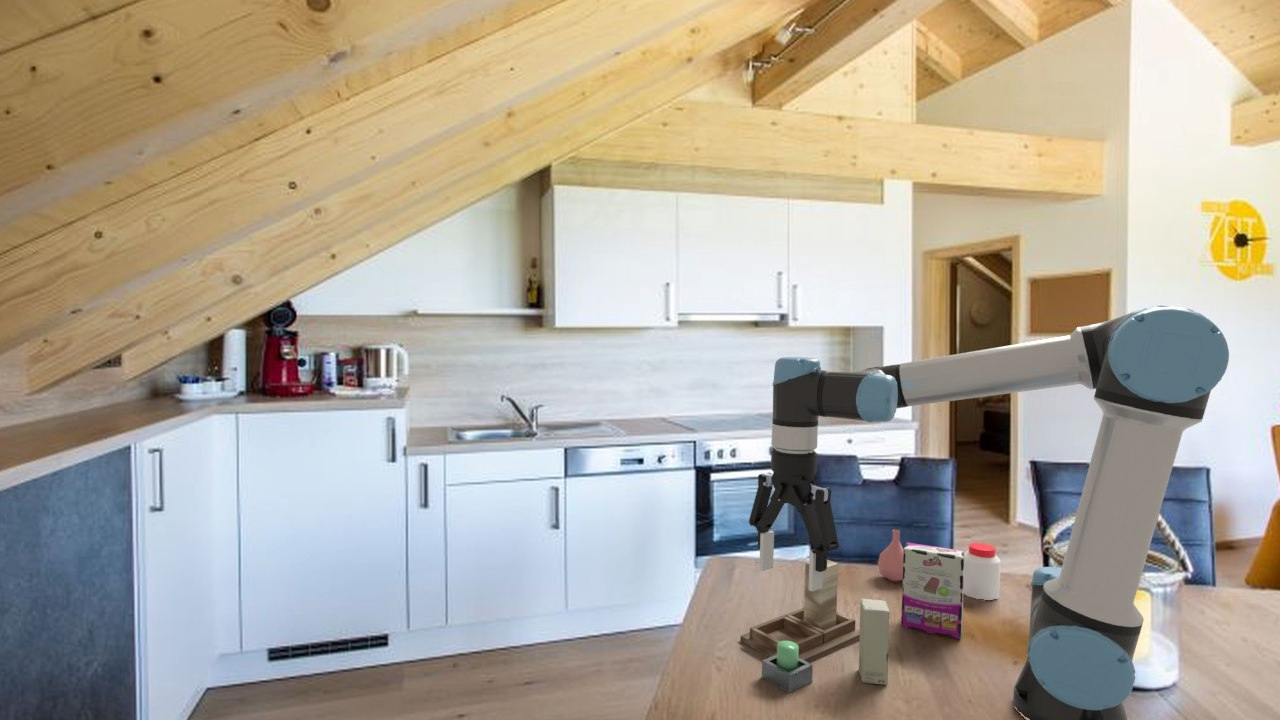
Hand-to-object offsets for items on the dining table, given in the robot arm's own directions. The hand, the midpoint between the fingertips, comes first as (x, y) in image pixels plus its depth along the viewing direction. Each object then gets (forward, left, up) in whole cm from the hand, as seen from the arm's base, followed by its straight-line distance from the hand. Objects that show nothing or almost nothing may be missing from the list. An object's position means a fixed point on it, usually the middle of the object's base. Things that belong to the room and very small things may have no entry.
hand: (790, 578), depth 114 cm
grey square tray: (0, 0, -18) cm, 18 cm away
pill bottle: (-1, -65, -18) cm, 67 cm away
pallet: (+8, -14, -18) cm, 24 cm away
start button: (0, 0, -16) cm, 16 cm away
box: (-8, -13, -18) cm, 24 cm away
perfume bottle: (+15, -56, -18) cm, 61 cm away
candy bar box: (-4, -39, -18) cm, 43 cm away
